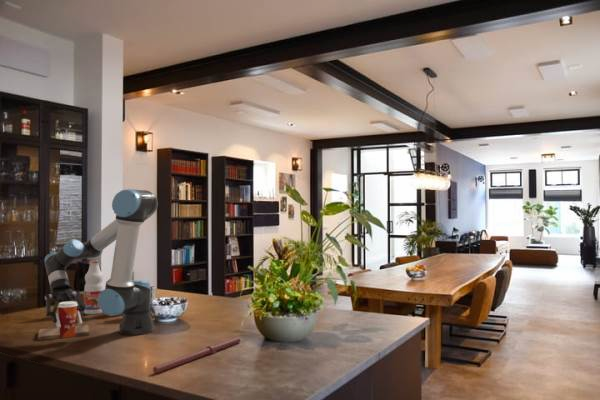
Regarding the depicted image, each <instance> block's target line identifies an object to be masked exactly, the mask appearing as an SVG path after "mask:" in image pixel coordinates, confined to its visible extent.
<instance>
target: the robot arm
mask: <svg viewBox="0 0 600 400" xmlns="http://www.w3.org/2000/svg"><path fill="white" fill-rule="evenodd" d="M156 196H157V195H155V194H154V193H153V192H151V191H149V190H145V189H141V190H140V189H133V188H131V189H130V188H128V189H122V190H120V191H119V192H117V193H116V194H115V195H114V197H113V199H112V203H111V208H112V210H113V213H114V214H115V219H114V220H113V221H112V222H111V223H109V224H108V225H106V226H105V227H104V228H102V229H101V230H100V231H99V232H97V233H96V234H95V235H93V236H92V237H91V238H89V240H87V241H86V242H81V241H80V240H79V239H76V238H72V239H70V240H68V241H67V242H66V243H64V245H63V246H62V247H61V248H60V249H59V250H58V251H54V252H51V253H48V254H47V255H46V256H45V257H44V267H45V270H46V275H47V277H48V282H49V288H50V292H51V293H50V294H49V293H45V296H44V301H45V304H46V305H45V311H46V313H45V314H46V317H50V318H51V320H52V323H53V324H55V325H56V326H55V327H56V328H57V330H60V327H61V324H60V320H59V312H57V309H58V305H59V303H61V302H67V301H75V300H76V301H75V302H77V304H78V306H77V315H76V322H77V324H78V325H77V326H79V327H81V326H82V325H83V320H82V319H83V317H84V313H83V312H84V310H85V308H86V307H85V305H84V301H83V299H82V296H81V295H80V290H76V291H73V289H71V284H70V281H69V277H68V272H67V270H66V269H67V267H69V265H71V264H72V263H73V262H74V261H78V260H80V261H81V260H86V259H94V258H98V257H100V256H101V255H102V253H103V251H104V249H106V248H107V247H109V246H110V245H112V243H114V242H115V246H114V251H113V257H112V258H113V259H112V266H111V273H110V278H109V279H108V280H106V281H105V285H104V287H105V288H104V289H103V291H102V292H101V293H100V294H99V296H98V305H99V308H100V309H101V310H102V313H103V314H105V315H106V316H110V317H113V316H119V315H120V314H122V313H123V315H122V318H121V321H120V322H119V326H118V333H119V334H121V335H127V336H136V335H137V336H139V335H144V334H148V333H151V332H153V331H154V330H155V328H154V327H155V326H154V322H153V318H151V315H150V290H151V289H150V285H151V283H150V282H149V280H134V281H133V280H132V273H133V271H134V265H135V260H136V259H135V258H136V253H137V244H138V239H139V233H140V226H141V225H142V224H144V223H145V221H147V220H148V219H149V218H150V217H152V216H153V215H154V214H155V213H156V211H157V209H158V206H159V201H158V198H157V197H156ZM72 295H73V296H72ZM73 297H74V298H75V299H74V298H73ZM51 299H54V300H55V302H54V305H53V309H51ZM120 316H121V315H120Z"/></svg>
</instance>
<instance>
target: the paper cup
mask: <svg viewBox="0 0 600 400" xmlns="http://www.w3.org/2000/svg"><path fill="white" fill-rule="evenodd" d="M77 306H78V303H77V301H75V300H74V301H62V302H59V303H58V306H57V309H58V316H59V320H60V324H61V327H60V337H61V338H60V339H67V338H74V337H73V336H75V329H76V326H77V317H76V315H77Z"/></svg>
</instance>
